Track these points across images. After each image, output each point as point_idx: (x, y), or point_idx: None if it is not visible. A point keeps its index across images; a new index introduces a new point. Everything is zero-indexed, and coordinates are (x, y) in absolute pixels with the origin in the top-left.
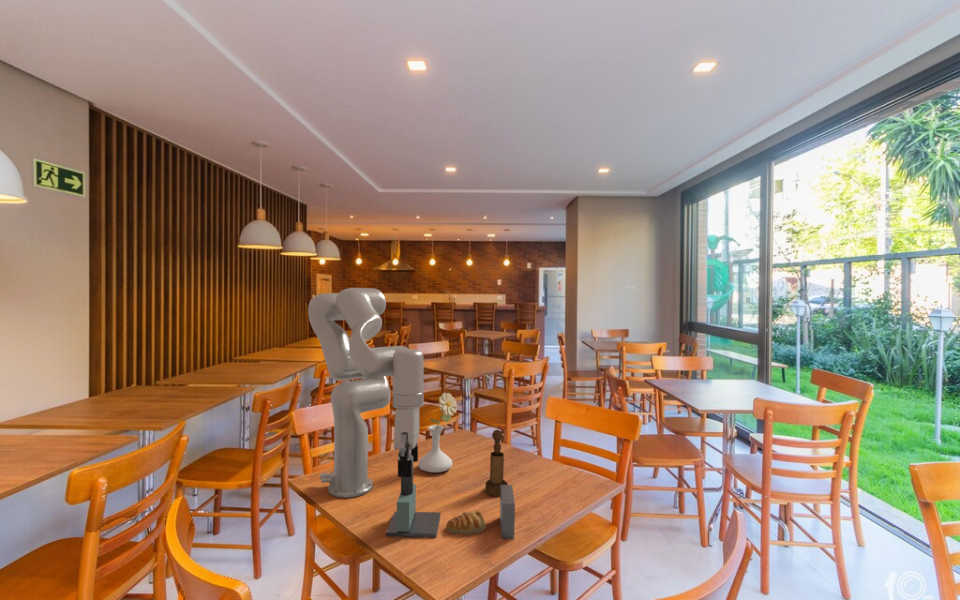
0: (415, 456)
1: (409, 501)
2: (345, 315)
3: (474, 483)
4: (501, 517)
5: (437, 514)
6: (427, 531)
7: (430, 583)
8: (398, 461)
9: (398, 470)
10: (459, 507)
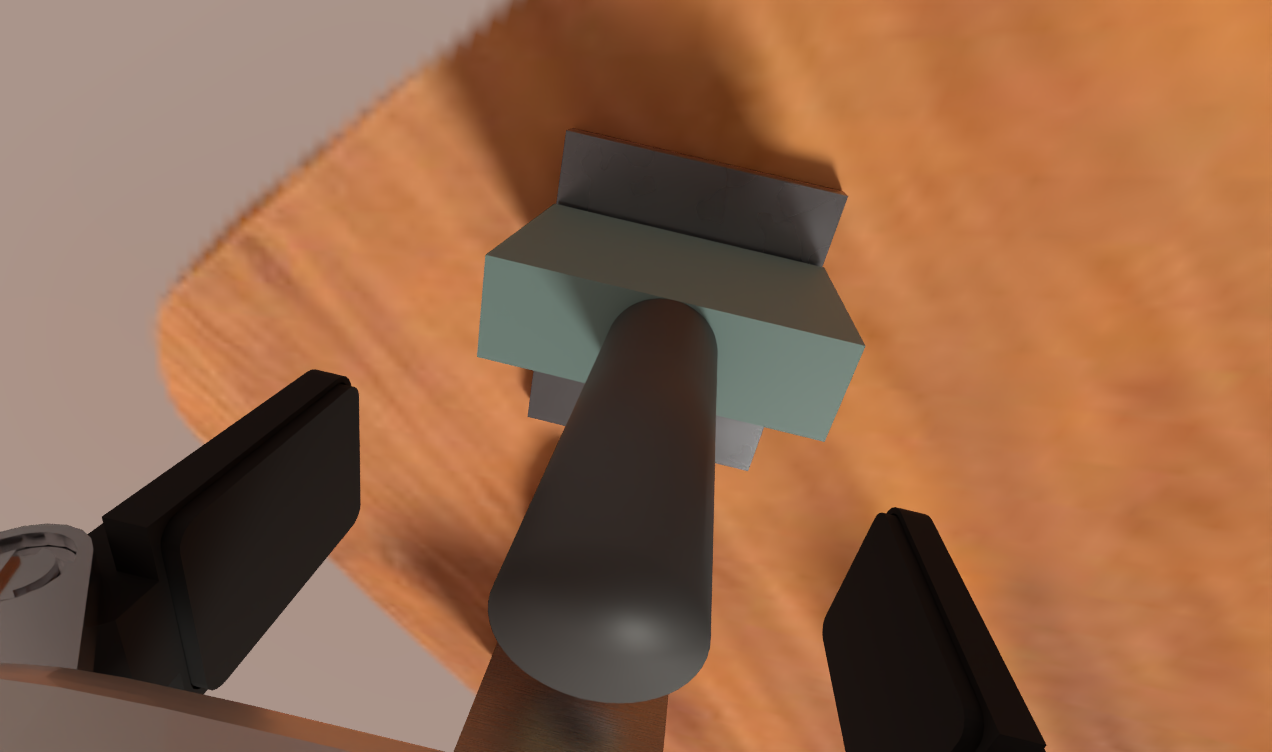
0: (841, 675)
1: (494, 358)
2: None
3: (1083, 683)
4: (516, 704)
5: (728, 452)
6: (552, 377)
7: (197, 333)
8: (128, 509)
9: (257, 416)
10: (818, 558)
